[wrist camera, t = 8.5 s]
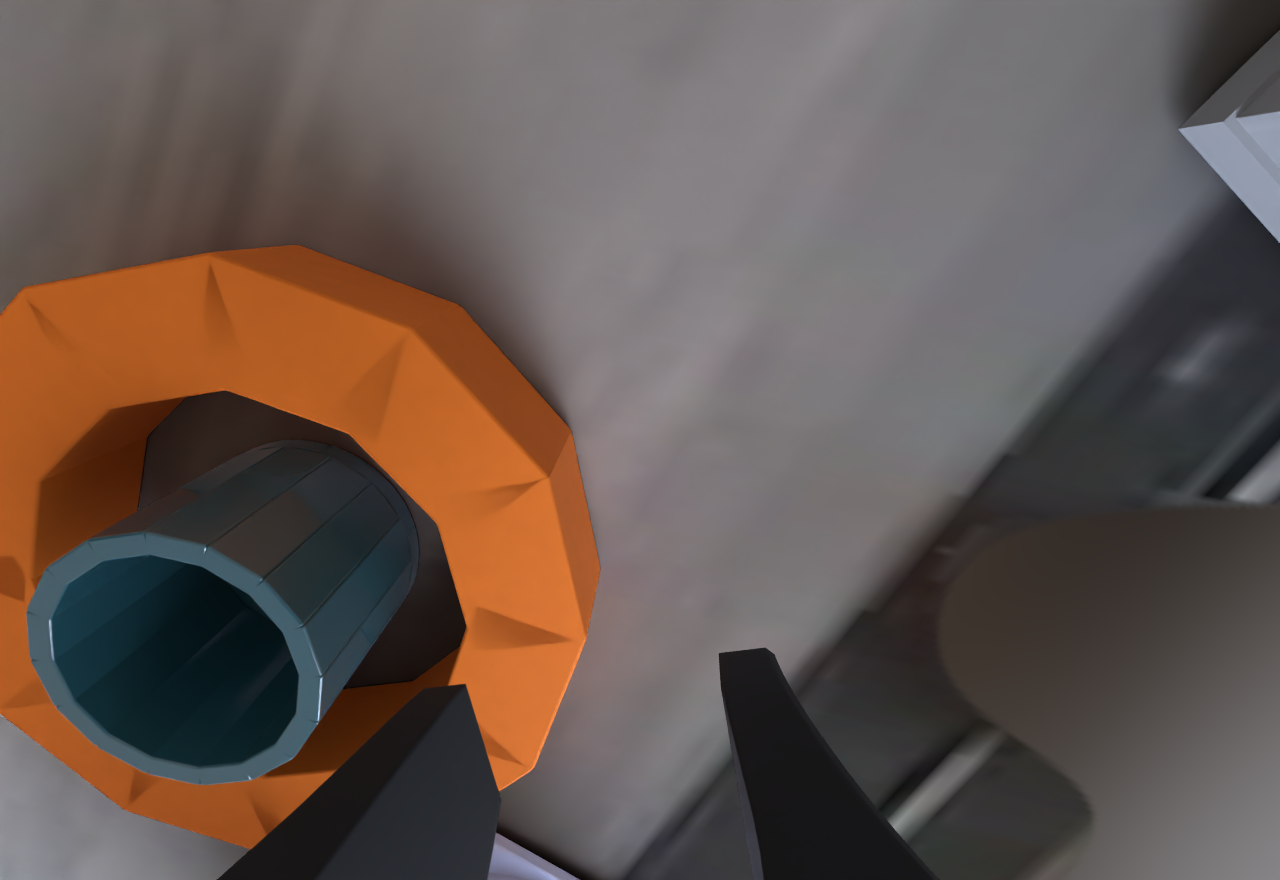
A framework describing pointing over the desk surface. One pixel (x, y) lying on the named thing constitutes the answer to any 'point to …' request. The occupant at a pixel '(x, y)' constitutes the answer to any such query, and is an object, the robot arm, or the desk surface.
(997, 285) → the desk surface
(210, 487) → the cup
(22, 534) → the ring
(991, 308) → the desk surface
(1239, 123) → the tall grey leaning box
